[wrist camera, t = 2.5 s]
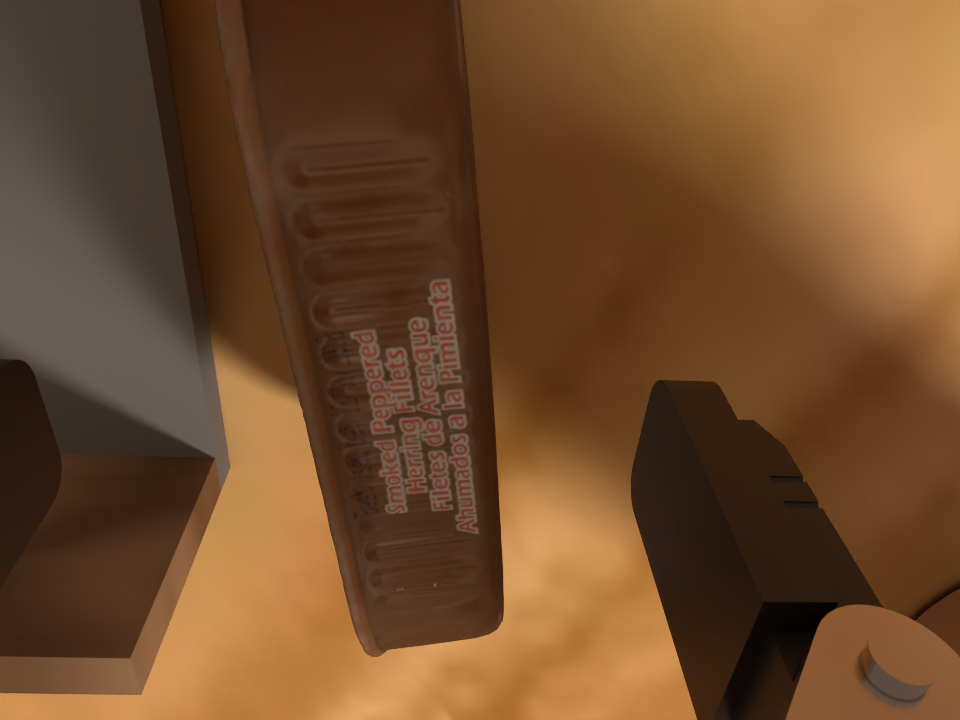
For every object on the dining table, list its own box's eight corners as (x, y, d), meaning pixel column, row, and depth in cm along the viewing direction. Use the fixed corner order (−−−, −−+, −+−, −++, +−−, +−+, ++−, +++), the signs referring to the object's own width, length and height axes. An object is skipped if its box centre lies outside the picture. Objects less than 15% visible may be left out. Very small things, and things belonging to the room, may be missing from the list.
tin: (273, -191, 13) (49, -295, 6) (452, -204, 13) (448, -325, 6) (385, 461, 21) (349, 751, 14) (494, 454, 21) (515, 741, 14)
